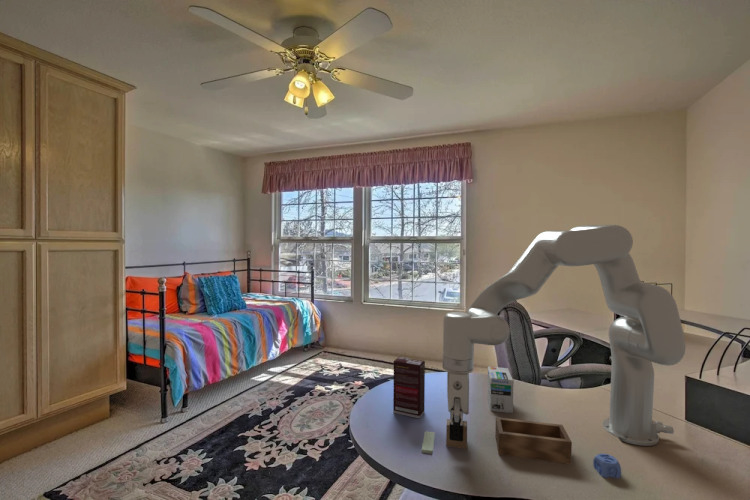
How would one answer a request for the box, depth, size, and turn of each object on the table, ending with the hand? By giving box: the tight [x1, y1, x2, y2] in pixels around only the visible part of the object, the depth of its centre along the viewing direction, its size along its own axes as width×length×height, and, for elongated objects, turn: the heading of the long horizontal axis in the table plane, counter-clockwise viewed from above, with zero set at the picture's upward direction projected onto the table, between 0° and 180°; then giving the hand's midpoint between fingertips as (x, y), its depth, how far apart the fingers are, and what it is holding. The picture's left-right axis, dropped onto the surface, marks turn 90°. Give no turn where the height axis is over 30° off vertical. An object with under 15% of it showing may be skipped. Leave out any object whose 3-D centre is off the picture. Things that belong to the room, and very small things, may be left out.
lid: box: [421, 418, 468, 454], centre depth 93 cm, size 17×9×7 cm, turn 77°
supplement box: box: [392, 356, 426, 420], centre depth 111 cm, size 9×5×16 cm, turn 65°
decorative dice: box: [592, 453, 622, 479], centre depth 83 cm, size 4×4×4 cm
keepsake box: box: [494, 416, 573, 465], centre depth 91 cm, size 16×8×6 cm, turn 77°
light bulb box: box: [486, 366, 515, 414], centre depth 116 cm, size 11×7×11 cm, turn 168°
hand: (456, 429), depth 93 cm, fingers open, 9 cm apart
